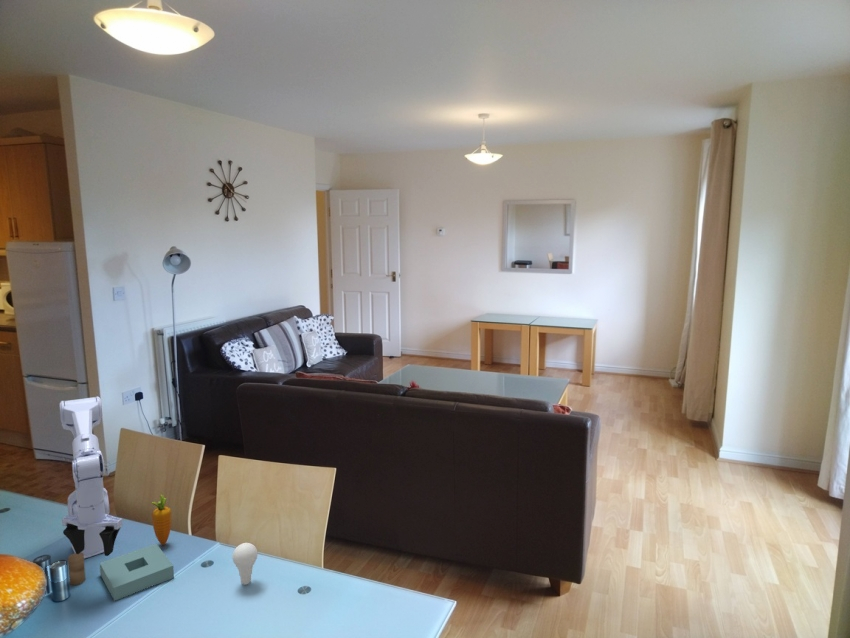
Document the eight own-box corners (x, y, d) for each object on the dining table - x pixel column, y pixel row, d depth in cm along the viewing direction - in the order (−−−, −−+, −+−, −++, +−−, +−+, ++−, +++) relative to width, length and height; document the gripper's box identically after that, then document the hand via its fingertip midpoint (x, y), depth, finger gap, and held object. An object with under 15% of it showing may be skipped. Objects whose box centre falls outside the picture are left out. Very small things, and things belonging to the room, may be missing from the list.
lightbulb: (263, 580, 141) (262, 541, 140) (246, 594, 136) (245, 553, 134) (245, 574, 144) (244, 535, 142) (228, 587, 138) (226, 547, 137)
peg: (68, 580, 140) (66, 555, 139) (83, 575, 142) (81, 551, 141) (71, 587, 137) (69, 561, 136) (86, 581, 140) (84, 556, 139)
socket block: (100, 575, 142) (99, 562, 142) (156, 555, 152) (156, 543, 151) (114, 601, 132) (113, 587, 132) (173, 577, 142) (173, 565, 141)
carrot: (165, 551, 154) (162, 501, 152) (150, 548, 155) (147, 499, 153) (176, 541, 159) (174, 493, 157) (161, 539, 160) (159, 492, 158)
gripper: (51, 508, 130) (55, 560, 132) (108, 511, 129) (111, 563, 131) (72, 494, 137) (75, 544, 139) (126, 498, 136) (129, 547, 138)
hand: (94, 552), depth 136 cm, fingers open, 7 cm apart
